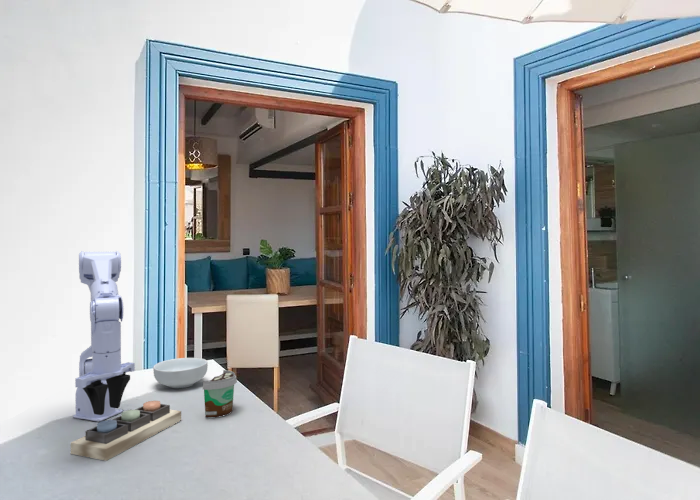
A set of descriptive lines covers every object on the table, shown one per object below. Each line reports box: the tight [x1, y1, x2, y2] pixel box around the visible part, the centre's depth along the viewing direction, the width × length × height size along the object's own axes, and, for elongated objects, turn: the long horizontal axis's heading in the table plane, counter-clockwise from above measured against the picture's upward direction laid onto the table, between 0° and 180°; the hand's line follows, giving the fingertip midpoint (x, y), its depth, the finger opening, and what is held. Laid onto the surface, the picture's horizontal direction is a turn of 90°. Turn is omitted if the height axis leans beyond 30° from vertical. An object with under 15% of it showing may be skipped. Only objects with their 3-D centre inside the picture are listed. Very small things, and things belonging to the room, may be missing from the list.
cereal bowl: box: [153, 357, 209, 389], centre depth 153 cm, size 17×17×7 cm
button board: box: [70, 403, 182, 462], centre depth 112 cm, size 10×24×4 cm, turn 161°
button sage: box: [121, 409, 140, 422], centre depth 112 cm, size 4×4×2 cm
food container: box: [202, 369, 238, 418], centre depth 128 cm, size 12×6×10 cm, turn 168°
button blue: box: [96, 419, 117, 433], centre depth 105 cm, size 4×4×2 cm
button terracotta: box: [142, 400, 161, 412], centre depth 119 cm, size 4×4×2 cm
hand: (106, 410), depth 105 cm, fingers open, 4 cm apart
